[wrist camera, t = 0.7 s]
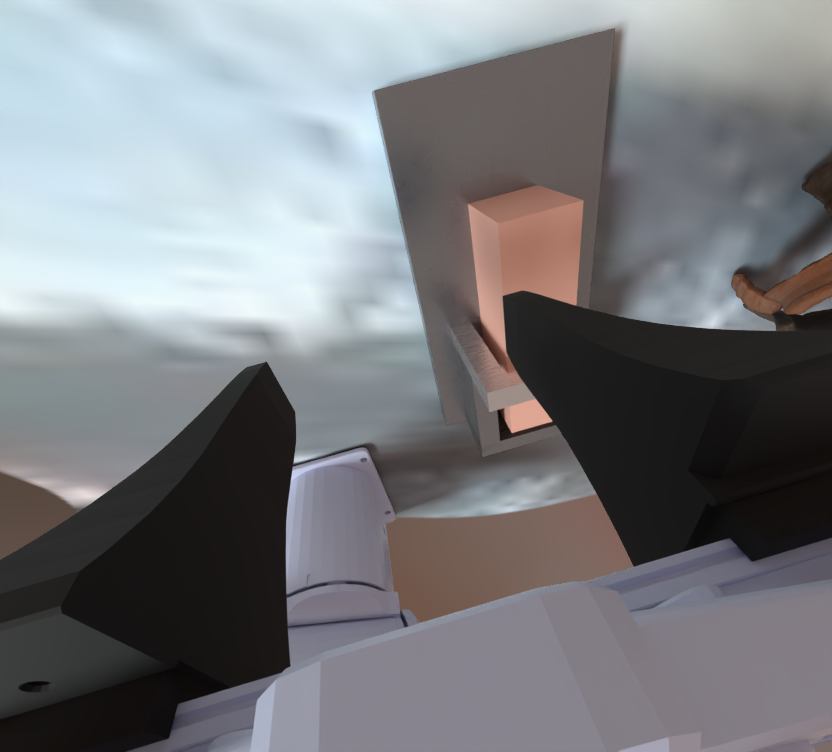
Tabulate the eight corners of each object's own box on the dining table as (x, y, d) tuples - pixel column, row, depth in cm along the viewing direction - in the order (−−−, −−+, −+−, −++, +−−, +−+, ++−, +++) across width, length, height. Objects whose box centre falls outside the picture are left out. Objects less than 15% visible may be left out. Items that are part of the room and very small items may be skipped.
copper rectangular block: (538, 377, 25) (568, 416, 21) (488, 391, 25) (511, 433, 21) (537, 185, 18) (583, 200, 14) (467, 203, 17) (498, 223, 14)
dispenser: (574, 378, 27) (640, 451, 21) (443, 416, 26) (474, 499, 21) (600, 32, 15) (760, -18, 10) (371, 92, 15) (395, 77, 9)
